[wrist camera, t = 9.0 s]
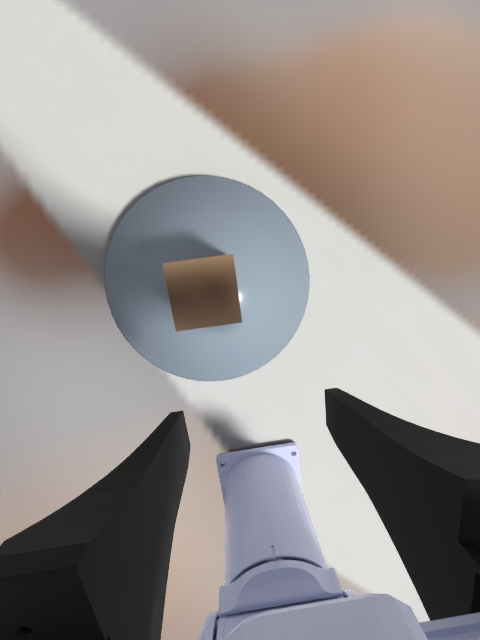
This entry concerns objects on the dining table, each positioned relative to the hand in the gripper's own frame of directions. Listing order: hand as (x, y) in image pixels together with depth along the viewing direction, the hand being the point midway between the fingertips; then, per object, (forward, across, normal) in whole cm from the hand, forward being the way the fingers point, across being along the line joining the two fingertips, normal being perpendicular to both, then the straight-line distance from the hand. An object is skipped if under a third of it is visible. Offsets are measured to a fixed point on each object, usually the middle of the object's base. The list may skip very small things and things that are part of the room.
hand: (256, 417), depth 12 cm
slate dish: (+9, +2, -6) cm, 11 cm away
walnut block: (+8, +2, -6) cm, 11 cm away
